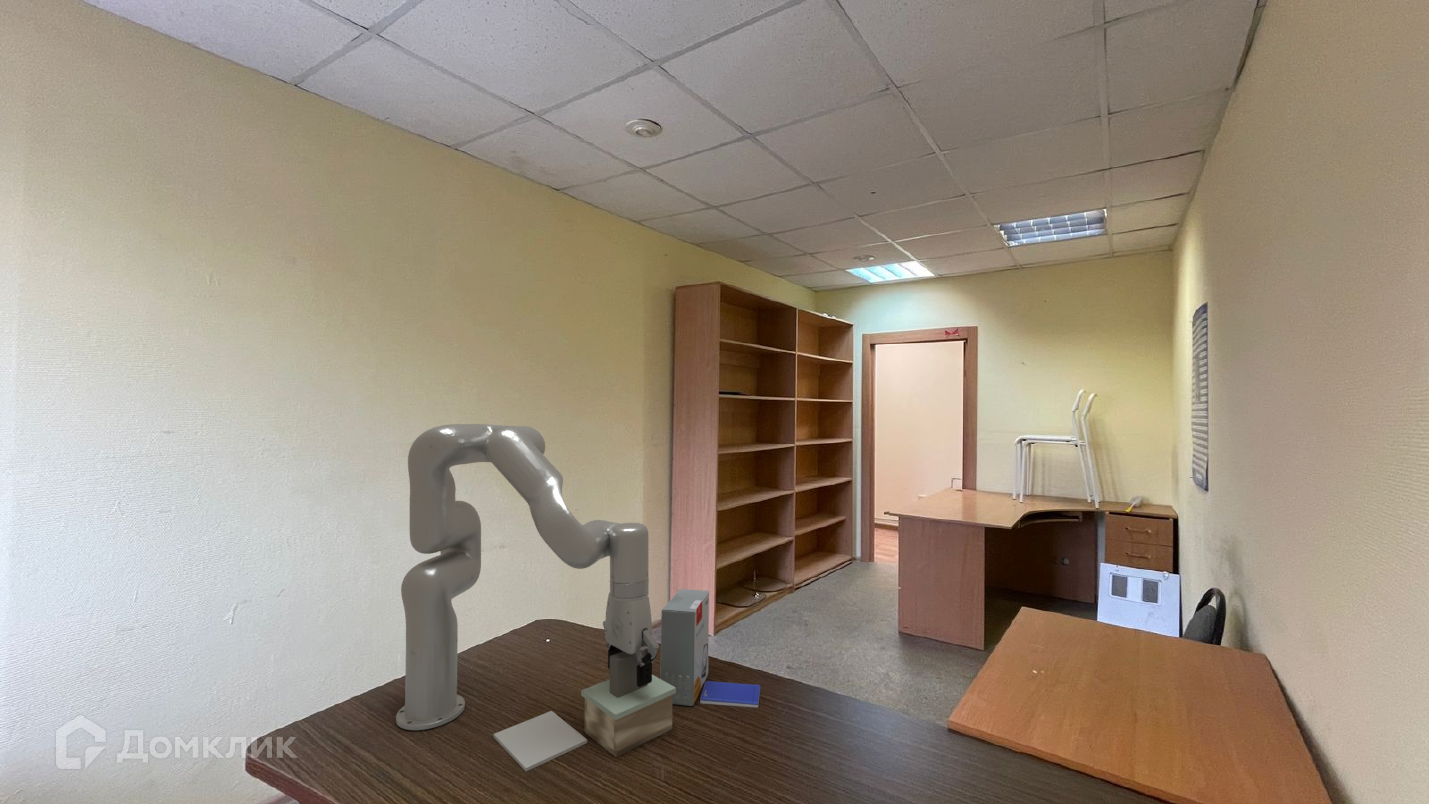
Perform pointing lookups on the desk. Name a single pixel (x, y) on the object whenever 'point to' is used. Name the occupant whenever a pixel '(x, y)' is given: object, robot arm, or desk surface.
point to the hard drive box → (685, 644)
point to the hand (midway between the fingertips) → (629, 675)
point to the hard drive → (730, 694)
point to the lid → (626, 688)
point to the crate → (628, 726)
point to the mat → (539, 740)
